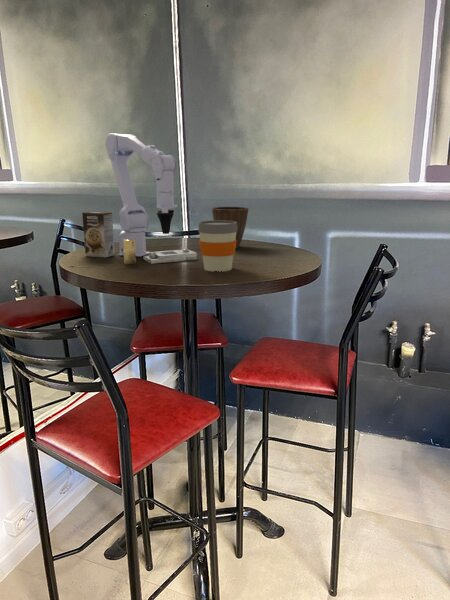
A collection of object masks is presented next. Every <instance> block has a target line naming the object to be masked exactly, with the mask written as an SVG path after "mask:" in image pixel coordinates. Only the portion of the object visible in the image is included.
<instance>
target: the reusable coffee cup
mask: <svg viewBox="0 0 450 600" xmlns="http://www.w3.org/2000/svg"><path fill="white" fill-rule="evenodd" d="M197 228H198V229H197V231H198V233H199V240H198V242H199V249H200V254H201V255H202V262H203V269H204V271H207V272H214V271H217V272H218V271H219V273H220V272H221V271H222V272H228V271H231V270H232V269H233V263H234V262H233V261H234V255H235V254H236V249H237V248H236V241H237V240H236V232H237V222H234V221H224V220H204V221H203V220H202V221H199V222H198V227H197Z"/></svg>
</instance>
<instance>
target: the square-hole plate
mask: <svg viewBox="0 0 450 600" xmlns="http://www.w3.org/2000/svg"><path fill="white" fill-rule="evenodd" d="M148 252H149V254H148V255H144V256H143V260H145V262H147V263H149V264H152V265H153V264H163V263H175V262H184V261H197V260H198V252H196V251H194V250H191V249H189V248H182V249H174V250H173V249H172V250H161V251H148Z"/></svg>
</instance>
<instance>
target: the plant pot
mask: <svg viewBox="0 0 450 600" xmlns="http://www.w3.org/2000/svg"><path fill="white" fill-rule="evenodd" d="M211 214H212V219H213V220H224V221H234V222H237V232H236V240H237V241H236V249H239V248H240V245H241V243H242V240H243V236H244V233H245V229H246V226H247V225H246V224H247V221H248V215H249V207H245V206H244V207H243V206H216V207H212V208H211Z"/></svg>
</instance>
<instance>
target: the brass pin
mask: <svg viewBox="0 0 450 600" xmlns="http://www.w3.org/2000/svg"><path fill="white" fill-rule="evenodd" d="M123 251H124V255H123V263H124V265H135V264H136V263H137V258H136V257H137V256H136V253H135V240H134V239H125V240H123Z"/></svg>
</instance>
